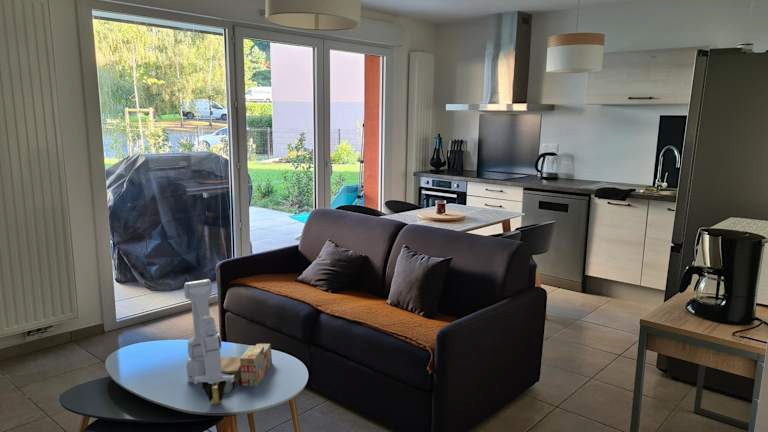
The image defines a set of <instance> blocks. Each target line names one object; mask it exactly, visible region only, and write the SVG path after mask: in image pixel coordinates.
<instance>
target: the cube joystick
mask: <svg viewBox="0 0 768 432" xmlns="http://www.w3.org/2000/svg"><path fill="white" fill-rule="evenodd" d="M218 384H219V382H216V386H213V385H212V400H211V401H212V404H213V405H219V403H220V404H221V403H222V402H221V401H219V391H218V387H217V385H218ZM233 387H234V386H233V382H226V385H225V388H224V392H223V394H230V392H231V391H232V389H233Z"/></svg>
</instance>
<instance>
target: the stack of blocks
mask: <svg viewBox="0 0 768 432" xmlns="http://www.w3.org/2000/svg"><path fill="white" fill-rule="evenodd" d="M271 345H272V344H271V343H256V344H255V345H249V346H248V347H247V349H246V350H245V352H244V353H243V354H242V355H241V356H240V357H241V358H240V367H241V378H242V379H241V387H243V386H244V387H257V386H258V385H259V384H260V382H261V381H262V379H263V377H264V376H265V375H266V373H267V371H268V370H269V368H270V367H271V365H272V363H273V360H272V359H273V358H272V346H271Z"/></svg>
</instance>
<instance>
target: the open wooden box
mask: <svg viewBox="0 0 768 432" xmlns="http://www.w3.org/2000/svg"><path fill="white" fill-rule="evenodd" d="M220 358H221V370H222V374H226V375H234V387H239V385H240V383H241V382H242V378H241V367H240V358H241V356H230V357H229V356H228V357H220ZM213 386H216V382H215V383H213V384H212V387H213Z"/></svg>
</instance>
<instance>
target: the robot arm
mask: <svg viewBox="0 0 768 432" xmlns="http://www.w3.org/2000/svg"><path fill="white" fill-rule="evenodd" d="M212 286H213V285H212V281H211V280H210V279H209V278H206V279H201V280H193V281H188V282H187V281H186V282H185V283H184V284H183V290H184V291H183V293H184V298H185V299H186V300H189V301H190V302H191V312H192V324H193V336H191V337H190V338H189V339H188V341H187V354H188V359H187V362H186V375H187V383H194V384H196V385H197V384H200V383H202V384H201V388H202V390H203V391H204V392H205V394H206V397H207V398H208V402H212V401H213V400H212V387H213V383H215V382H219V384H218V385H217V387H218V391H219V401H223V397H224V393H223V392H224V388H225V385H226V382H232V383H235V380H234V374H232V375H226V374H222V370H221V358H222V357H221V349H222V339H221V336H220V333H219V331H218V330H217V327H216V322H215V318H214V317H213V316H211V313H210V305H209V298H210V297H211V295H212V293H213V287H212Z"/></svg>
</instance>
